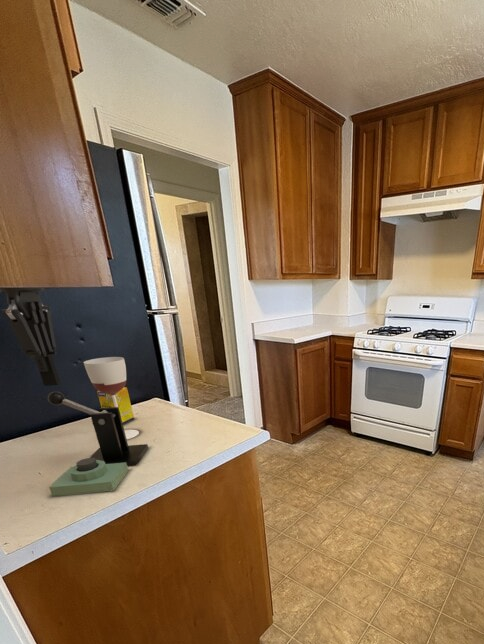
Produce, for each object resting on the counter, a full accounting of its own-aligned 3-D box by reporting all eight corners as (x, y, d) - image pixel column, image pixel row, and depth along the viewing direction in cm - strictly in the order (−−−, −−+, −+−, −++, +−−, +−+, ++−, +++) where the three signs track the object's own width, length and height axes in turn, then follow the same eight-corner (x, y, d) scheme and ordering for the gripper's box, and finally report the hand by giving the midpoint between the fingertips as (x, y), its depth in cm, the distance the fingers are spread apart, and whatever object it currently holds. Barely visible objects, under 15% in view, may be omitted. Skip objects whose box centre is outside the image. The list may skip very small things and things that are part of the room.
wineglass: (146, 433, 104) (129, 359, 96) (112, 444, 98) (90, 365, 89) (133, 426, 110) (116, 355, 101) (100, 436, 103) (78, 361, 94)
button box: (52, 496, 74) (46, 479, 72) (73, 475, 82) (68, 459, 80) (113, 490, 75) (109, 474, 74) (128, 470, 83) (124, 455, 82)
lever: (43, 403, 80) (46, 391, 79) (50, 399, 83) (54, 387, 82) (108, 428, 85) (112, 416, 84) (113, 423, 88) (117, 412, 87)
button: (75, 473, 75) (73, 465, 75) (83, 465, 79) (80, 458, 78) (93, 471, 76) (91, 464, 75) (100, 463, 79) (98, 456, 78)
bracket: (83, 469, 84) (67, 419, 79) (100, 451, 93) (87, 405, 88) (136, 465, 86) (123, 416, 81) (148, 448, 95) (137, 402, 90)
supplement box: (105, 424, 112) (96, 391, 107) (119, 418, 117) (111, 386, 113) (121, 425, 110) (112, 392, 106) (134, 419, 116) (127, 386, 112)
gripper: (15, 269, 66) (55, 391, 75) (53, 272, 78) (83, 377, 87) (-30, 270, 65) (16, 393, 74) (15, 272, 77) (50, 378, 86)
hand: (52, 384), depth 81 cm, fingers closed
